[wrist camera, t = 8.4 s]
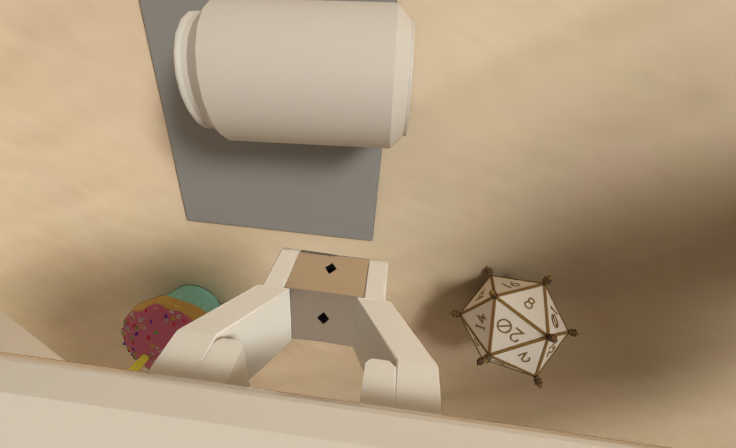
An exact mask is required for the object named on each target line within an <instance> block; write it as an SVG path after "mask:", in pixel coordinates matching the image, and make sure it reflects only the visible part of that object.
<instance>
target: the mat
mask: <svg viewBox="0 0 736 448" xmlns="http://www.w3.org/2000/svg"><path fill="white" fill-rule="evenodd" d="M139 1H140V6H141V10H142V15H143V19H144V24H145V29H146V33H147V38H148V42H149V47H150V51H151V56H152V61H153V65H154V70H155V74H156V79H157V83H158V88H159V93H160V97H161V102H162V106H163V111H164V115H165V120H166V125H167V129H168V134H169V138H170V143H171V147H172V152H173V157H174V161H175V166H176V170H177V175H178V180H179V184H180V189H181V193H182V198H183V202H184V207H185V212H186V216H187V220H191V221H200V222H209V223H218V224H227V225H236V226H245V227H253V228H262V229H271V230H280V231H289V232H298V233H307V234H316V235H325V236H334V237H343V238H352V239H361V240H370V241H372V239H373V229H374V219H375V210H376V200H377V190H378V181H379V171H380V162H381V152H382V148H371V147H351V146H331V145H311V144H291V143H272V142H252V141H232V140H228V139H227V138H225V137H224V136H222V135H221V134H220V133H219V132H218V131H217V130H216V129H212V128H205V127H203V126H202V125H200V124H198V123H197V122H196V120H195V119H194V118H193V117H192V115H191V114H190V113H189V111H188V110H187V108H186V106H185V104H184V101H183V99H182V97H181V95H180V92H179V88H178V84H177V80H176V76H175V69H174V58H173V49H174V39H175V33H176V30H177V28H178V25H179V22H180V20H181V18H182V17H183V16H184V15H185V14H186V13H187V12H188V11H201V10H202V8H203V7H204V6H205V5H206V4H207V3H208V2H209V1H210V0H139ZM324 1H360V2H396V3H397V0H324Z"/></svg>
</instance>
